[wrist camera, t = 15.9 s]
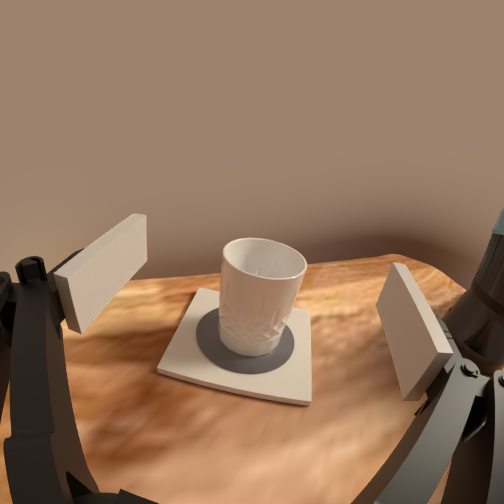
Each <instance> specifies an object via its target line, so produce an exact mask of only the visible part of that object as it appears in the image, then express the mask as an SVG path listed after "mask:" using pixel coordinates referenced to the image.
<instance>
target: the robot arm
mask: <svg viewBox="0 0 504 504" xmlns="http://www.w3.org/2000/svg"><path fill="white" fill-rule="evenodd" d="M492 233H493V234H492V237H491V239H490V242H489V244H488V247H487V250H486V252H485V255H484V257H483V259H482V262H481V264H480V266H479V269H478V270H477V273H476V275H475V277H474V279H473V281H472V283H471V285H470V287H469V289H468V290H467V291H466V292H465V293H464V294H463V295H462V296H461V297H460V299H459V300H458V301H457V302H456V303H455V305H454V306H452V307H450V308H449V309H448V310H447V312H446V313H445V315H444V317H443V319H442V320H441V319H440V318H439V317H438V316H435V315H434V313H433V311H432V310H431V308H430V306H429V304H428V302H427V301H426V299H425V297H424V295H423V294H422V292H421V290H420V288H419V287H418V285H417V283H416V281H415V280H414V278H413V276H412V275H411V273H410V271H409V270H408V268H407V267H406V265H405V264H400V263H395V262H393V263H392V266H391V269H390V271H389V274H388V276H387V279H386V282H385V284H384V286H383V289H382V291H381V294H380V296H379V299H378V301H377V303H376V307H377V310H378V313H379V316H380V319H381V323H382V326H383V329H384V332H385V336H386V339H387V342H388V346H389V349H390V353H391V356H392V360H393V363H394V367H395V371H396V375H397V378H398V382H399V386H400V390H401V395H402V399H403V401H418V400H419V399H420V398H421V396H422V395H423V394H424V393H425V392H426V394H427V397H428V399H427V400H426V401H425V403H424V404H423V405H422V406H421V407H420V408H419V409H418V411H417V412H416V413H415V414H414V415H417V416H416V417H415V419H414V420H413V422H412V424H411V425H410V427H409V428H408V430H407V432H406V433H405V435H404V436H403V438H402V439H401V441H400V442H399V444H398V445H397V446H396V448H395V449H394V451H393V452H392V454H391V455H390V456H389V458H388V459H387V460H386V462H385V463H384V464H383V466H382V467H381V468H380V470H379V471H378V472H377V473H376V475H375V476H374V477H373V478H372V480H371V481H370V482H369V483H368V484H367V486H366V487H365V488H364V489H363V490H362V491H361V493H360V494H359V495H358V496H357V497H356V498H355V499H354V500H353V502H352V503H351V504H427V503H428V501H429V499H430V498H431V496H432V494H433V492H434V491H435V489H436V487H437V485H438V483H439V482H440V480H441V478H442V476H443V474H444V472H445V470H446V468H447V466H448V464H449V462H450V460H451V457H452V455H453V457H452V462H451V466H450V471H449V475H448V479H447V483H446V487H445V491H444V494H443V498H442V501H441V504H504V371H502V369H503V368H504V209H502V211H501V213H500V215H499V218H498V220H497V223H496V225H495V228H494V229H493V230H492ZM146 244H147V243H146V215H142V214H135V213H134V214H132V215H131V216H129V217H128V218H126V219H125V220H124V221H122V222H121V223H119V224H118V225H116V226H115V227H114V228H112V229H111V230H109V231H108V232H107V233H105V234H104V235H102V236H101V237H100V238H98V239H97V240H96V241H94V242H93V243H92V244H90V245H89V246H88V247H86V248H84V249H81V250H79V251H76V252H74V253H73V254H72V255H70V256H69V257H68V259H65V260H64V261H62V263H60V264H59V265H57V266H56V267H55V268H54V269H52V270H51V271H50V272H49V273H47V274H46V270H45V266H44V261H43V259H42V258H41V257H37V256H32V257H27V258H25V259H22V260H21V261H20V262H18V263H17V265H16V266H15V268H16V272H17V275H18V279H19V282H20V283H12V281H11V278H10V275H9V273H7V272H0V422H1V416H2V411H3V406H4V401H5V396H6V392H7V388H8V384H9V380H10V418H11V437H9V438H5V440H4V448H3V450H4V458H5V465H6V472H7V478H8V483H9V488H10V493H11V497H12V502H13V504H158V503H156V502H153V501H151V500H148V499H145V498H142V497H140V496H137V495H134V494H132V493H129V492H127V491H125V490H122V489H120V491H119V494H116V493H100V492H99V489H98V487H97V485H96V483H95V481H94V479H93V477H92V475H91V474H90V472H89V470H88V467H87V464H86V461H85V458H84V454H83V451H82V447H81V443H80V439H79V435H78V431H77V427H76V423H75V418H74V413H73V408H72V403H71V398H70V392H69V386H68V379H67V372H66V364H65V356H64V345H63V333H62V327H61V324H60V323H61V322H62V321H63V320H64V319H66V322H67V326H68V329H70V330H73V331H75V332H77V333H80V334H83V332H84V331H85V330H86V329H87V328H88V326H89V325H90V324H91V323H92V322H93V320H94V319H95V318H96V317H97V316H98V315H99V313H100V312H101V311H102V310H103V309H104V308H105V306H106V305H107V304H108V303H109V302H110V301H111V300H112V298H113V297H114V296H115V295H116V294H117V293H118V292H119V291H120V289H121V288H122V287H123V286H124V285H125V284H126V283H127V282H128V281H129V279H130V278H131V277H132V276H133V275H134V274H135V273H136V272H137V271H138V270H139V269H140V268H141V267H142V265H143V264H144V263H145V262H146V261H147V245H146ZM480 373H483V374H489V375H492V374H493V375H492V376H491V378H489V377H486V376H482V375H480ZM485 421H486V422H485Z"/></svg>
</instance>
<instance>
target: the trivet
mask: <svg viewBox="0 0 504 504" xmlns="http://www.w3.org/2000/svg"><path fill="white" fill-rule="evenodd" d="M219 294H220V292H218V291H214V290H210V289H205V288H201V287H200V288H199V289H198V291H197V293H196V295H195V297H194V299H193V300H192V302H191V304H190V306H189V308H188V310H187V312H186V313H185V315H184V317H183V319H182V321H181V323H180V325H179V326H178V328H177V330H176V332H175V334H174V336H173V338H172V340H171V342H170V343H169V345H168V347H167V349H166V351H165V353H164V355H163V357H162V359H161V361H160V363H159V364H158V366H157V373H161V374H164V375H167V376H170V377H174V378H177V379H180V380H184V381H188V382H191V383H195V384H199V385H202V386H206V387H210V388H214V389H219V390H223V391H227V392H232V393H236V394H241V395H246V396H251V397H256V398H261V399H267V400H272V401H278V402H285V403H291V404H298V405H306V406H309V405H310V403H311V330H310V310H305V309H300V308H295V307H293V309H292V312H291V314H290V316H289V319H288V322H287V324H286V326H285V327H284V329H283V332H282V334H281V337H280V340H279V343H278V345H277V347H276V348H275V349H273V350H272V351H271V352H270V353H269V354H265V355H261V356H257V357H253V356H244V355H240V354H238V353H236V352H234V351H231V350H229V349H228V348H227V347H226V346H225V345H224V344H223V342H222V341H221V340H220V336H219V331H218V328H219Z"/></svg>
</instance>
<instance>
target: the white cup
mask: <svg viewBox="0 0 504 504" xmlns="http://www.w3.org/2000/svg"><path fill="white" fill-rule="evenodd" d="M306 269H307V263H306V260H305V259H304V257H303V256H302V255H301V254H300V253H299V252H297V251H296V250H294V249H293V248H291V247H289V246H287V245H285V244H282V243H279V242H276V241H272V240H267V239H261V238H243V239H237V240H234V241H231V242H229V243H228V244H227V245H226V246H225V247H224V248H223V253H222V267H221V280H220V294H219V328H218V331H219V336H220V340H221V341H222V342H223V344H224V345H225V346H226V347H227V348H228V349H229V350H231V351H234V352H236V353H238V354H240V355H244V356H253V357H257V356H261V355H265V354H269V353H270V352H271V351H272V350H273V349H275V348H276V347H277V345H278V343H279V340H280V337H281V334H282V332H283V329H284V327H285V326H286V324H287V322H288V319H289V316H290V314H291V312H292V309H293V306H294V303H295V301H296V298H297V295H298V292H299V289H300V286H301V283H302V280H303V277H304V274H305V272H306Z"/></svg>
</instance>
